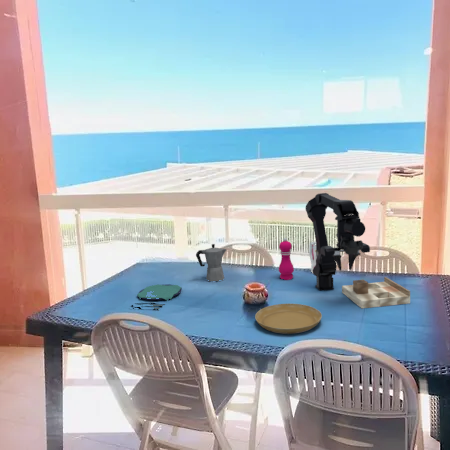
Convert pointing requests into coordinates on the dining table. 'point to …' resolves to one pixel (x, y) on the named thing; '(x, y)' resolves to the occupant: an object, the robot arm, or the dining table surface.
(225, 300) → the dining table surface
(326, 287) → the robot arm
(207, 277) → the coffeepot
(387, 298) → the beige sorting tray
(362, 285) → the walnut block
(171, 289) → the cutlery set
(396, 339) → the dining table surface
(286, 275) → the pepper mill
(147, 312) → the dining table surface
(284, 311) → the plant saucer
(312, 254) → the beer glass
